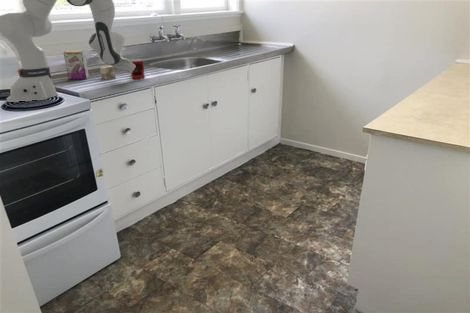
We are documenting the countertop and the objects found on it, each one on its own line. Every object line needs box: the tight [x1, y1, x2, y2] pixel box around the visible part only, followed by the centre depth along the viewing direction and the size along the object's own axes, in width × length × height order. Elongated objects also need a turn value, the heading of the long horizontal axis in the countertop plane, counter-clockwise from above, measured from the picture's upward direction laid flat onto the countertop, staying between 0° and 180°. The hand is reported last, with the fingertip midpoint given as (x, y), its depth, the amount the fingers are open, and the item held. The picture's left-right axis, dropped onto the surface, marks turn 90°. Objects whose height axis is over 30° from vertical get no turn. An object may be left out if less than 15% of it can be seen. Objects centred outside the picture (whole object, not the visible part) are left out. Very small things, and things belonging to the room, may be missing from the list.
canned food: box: [129, 58, 146, 80], centre depth 215 cm, size 8×8×11 cm
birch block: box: [99, 65, 116, 80], centre depth 218 cm, size 6×6×7 cm
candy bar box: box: [63, 50, 90, 80], centre depth 217 cm, size 11×5×16 cm, turn 92°
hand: (131, 72), depth 212 cm, fingers closed
